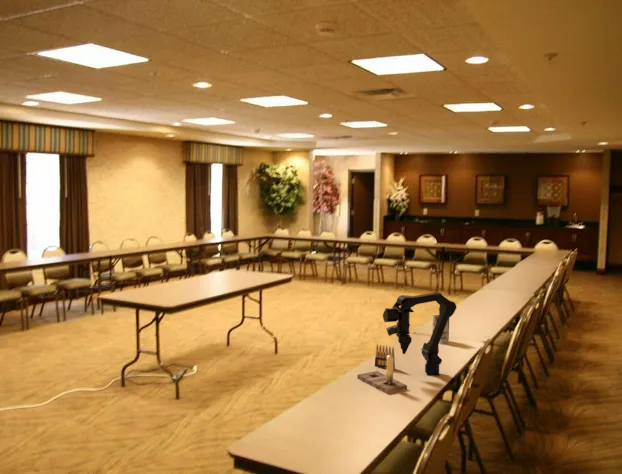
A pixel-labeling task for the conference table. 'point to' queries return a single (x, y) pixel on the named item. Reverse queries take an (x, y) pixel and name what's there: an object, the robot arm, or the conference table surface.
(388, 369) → the brass peg
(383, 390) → the block
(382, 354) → the ammunition clip
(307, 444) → the conference table surface
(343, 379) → the conference table surface
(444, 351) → the conference table surface
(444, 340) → the coffee box
